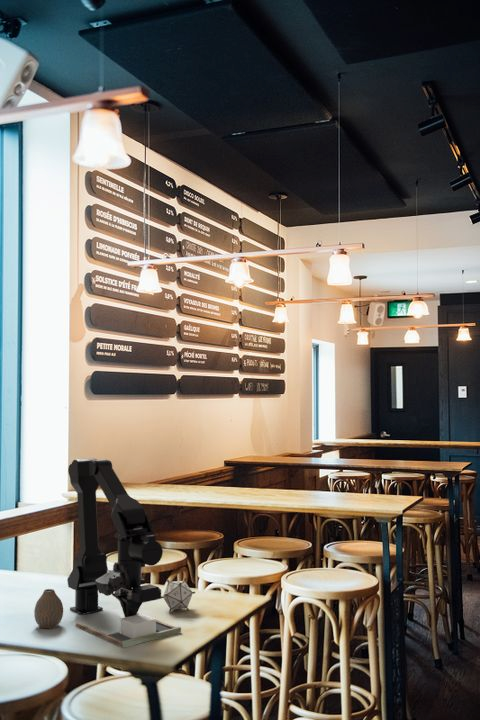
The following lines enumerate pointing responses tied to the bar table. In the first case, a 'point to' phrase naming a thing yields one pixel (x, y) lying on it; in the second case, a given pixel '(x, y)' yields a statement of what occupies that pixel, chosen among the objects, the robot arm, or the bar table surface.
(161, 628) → the dark grey rectangular slab
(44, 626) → the vase
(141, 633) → the block
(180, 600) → the game die
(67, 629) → the bar table surface
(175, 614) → the bar table surface
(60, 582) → the bar table surface
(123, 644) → the wood-trimmed serving tray
